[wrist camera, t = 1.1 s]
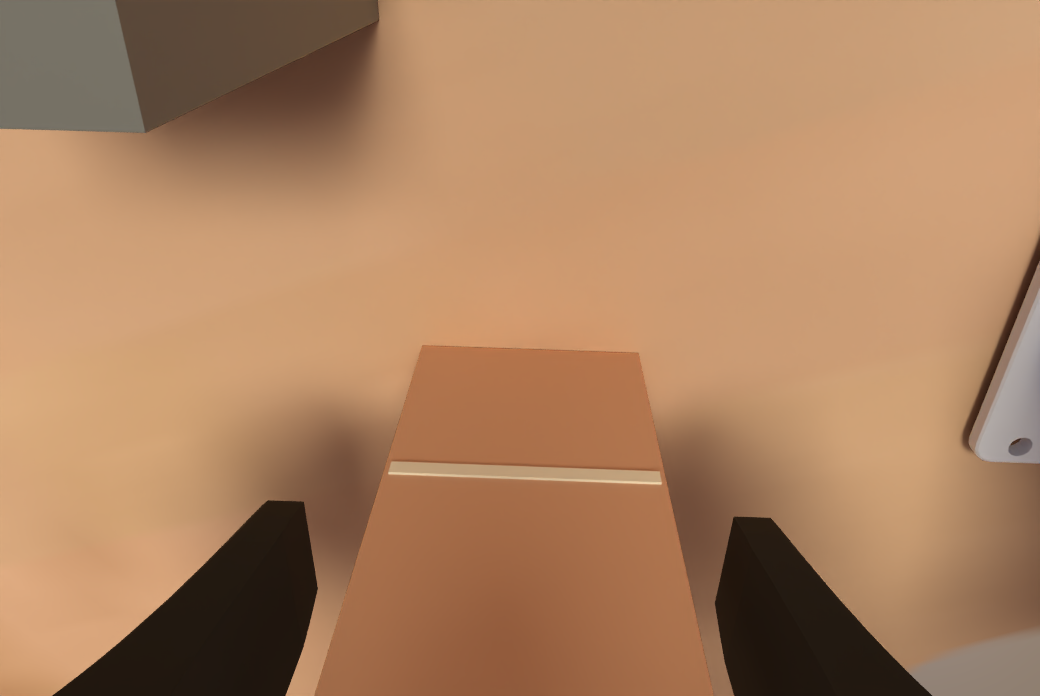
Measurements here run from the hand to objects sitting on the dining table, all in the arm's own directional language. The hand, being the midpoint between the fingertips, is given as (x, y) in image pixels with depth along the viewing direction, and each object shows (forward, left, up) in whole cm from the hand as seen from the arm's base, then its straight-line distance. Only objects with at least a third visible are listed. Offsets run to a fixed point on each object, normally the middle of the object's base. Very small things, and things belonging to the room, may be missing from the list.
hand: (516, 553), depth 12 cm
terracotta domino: (0, 0, -6) cm, 6 cm away
